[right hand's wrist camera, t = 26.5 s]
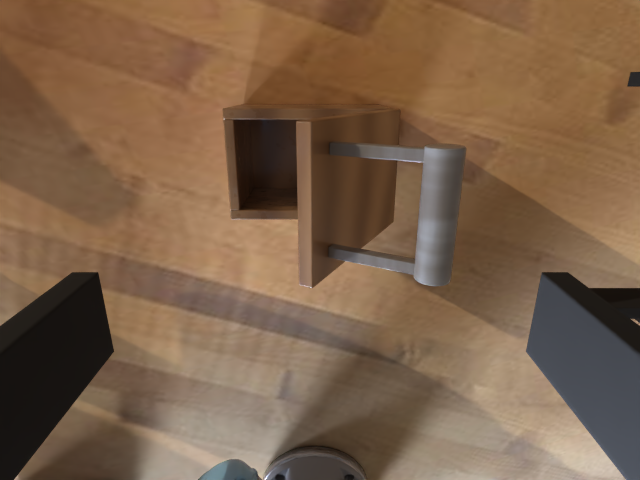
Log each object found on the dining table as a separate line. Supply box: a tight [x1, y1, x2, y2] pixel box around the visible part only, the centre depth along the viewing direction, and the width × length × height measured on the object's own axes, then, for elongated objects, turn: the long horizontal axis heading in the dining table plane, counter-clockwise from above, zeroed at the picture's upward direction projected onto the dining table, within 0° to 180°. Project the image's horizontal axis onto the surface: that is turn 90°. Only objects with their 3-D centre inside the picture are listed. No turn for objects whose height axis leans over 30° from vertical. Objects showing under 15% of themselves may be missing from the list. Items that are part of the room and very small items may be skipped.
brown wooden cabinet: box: [223, 104, 393, 219], centre depth 40 cm, size 14×9×10 cm
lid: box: [296, 109, 466, 288], centre depth 27 cm, size 14×9×8 cm
